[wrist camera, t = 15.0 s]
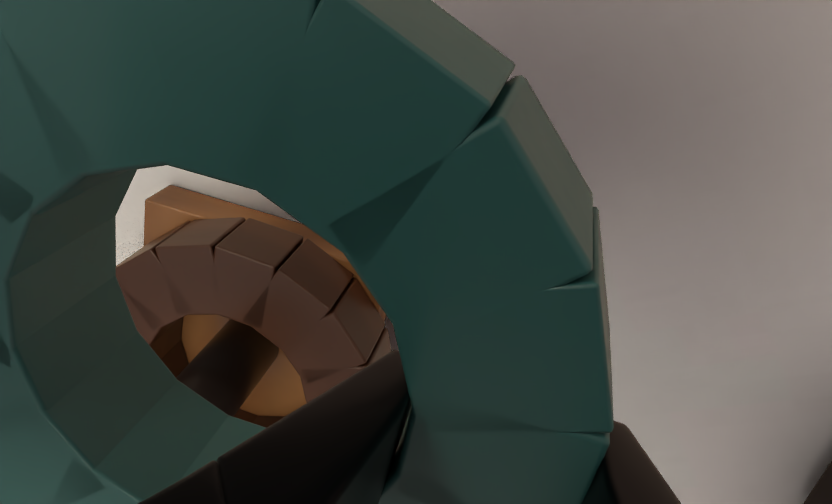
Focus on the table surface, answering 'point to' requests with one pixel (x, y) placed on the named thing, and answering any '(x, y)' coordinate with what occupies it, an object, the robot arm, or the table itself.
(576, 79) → the table surface
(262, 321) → the walnut ring
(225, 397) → the peg stand
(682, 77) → the table surface
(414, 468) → the teal ring
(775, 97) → the table surface
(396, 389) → the robot arm
